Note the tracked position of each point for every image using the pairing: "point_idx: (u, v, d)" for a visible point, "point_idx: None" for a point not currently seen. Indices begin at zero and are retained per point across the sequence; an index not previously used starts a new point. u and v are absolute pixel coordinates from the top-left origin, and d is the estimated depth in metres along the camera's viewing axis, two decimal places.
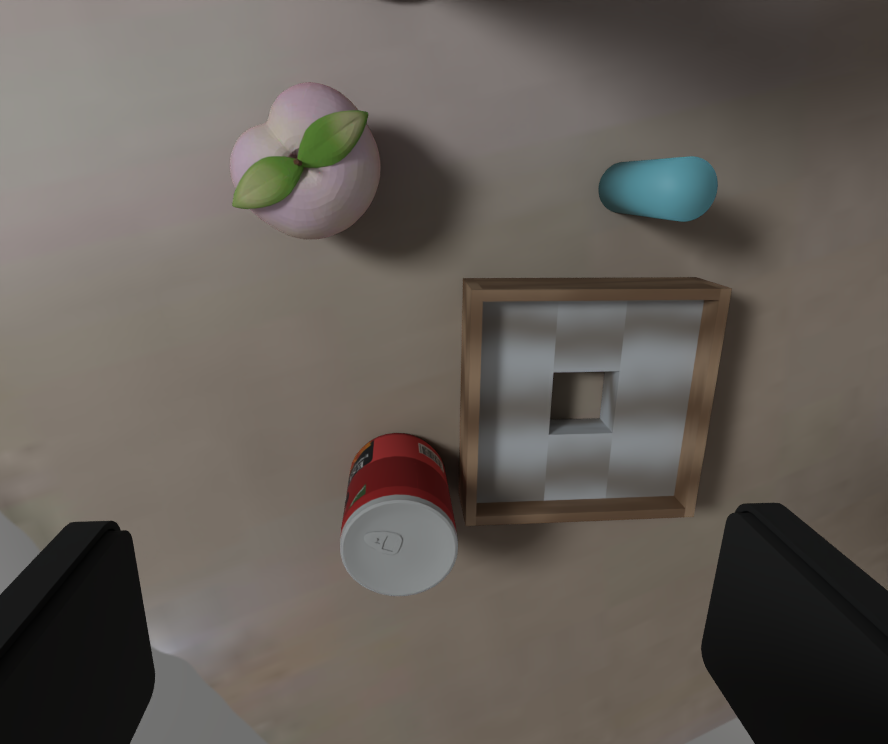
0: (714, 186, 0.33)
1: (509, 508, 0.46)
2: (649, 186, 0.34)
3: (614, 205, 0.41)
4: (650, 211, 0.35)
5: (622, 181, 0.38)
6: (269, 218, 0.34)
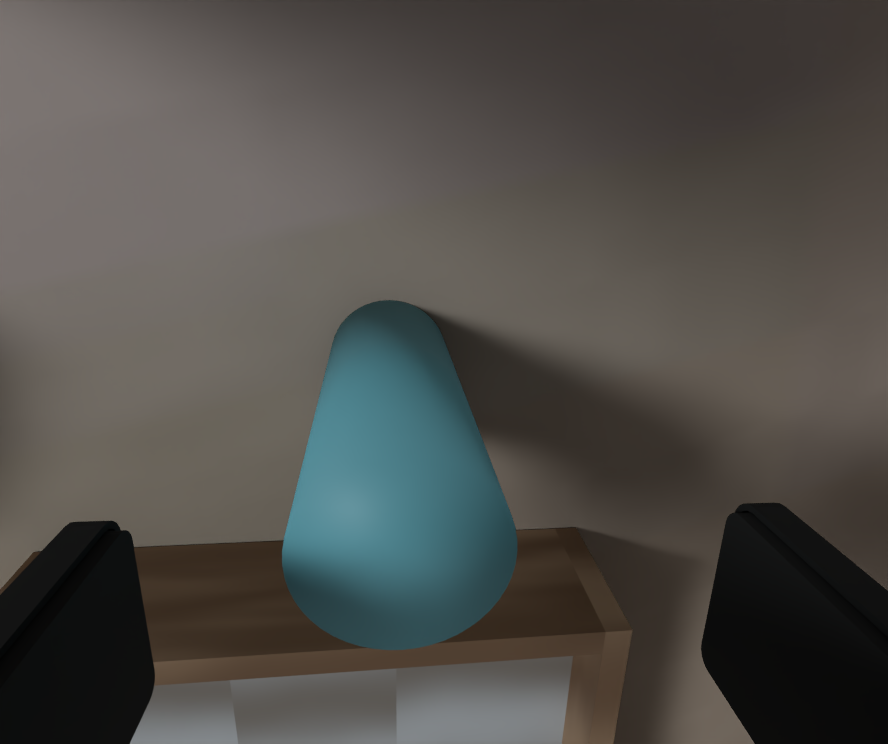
0: (507, 541, 0.09)
1: None
2: None
3: None
4: None
5: (319, 397, 0.14)
6: None
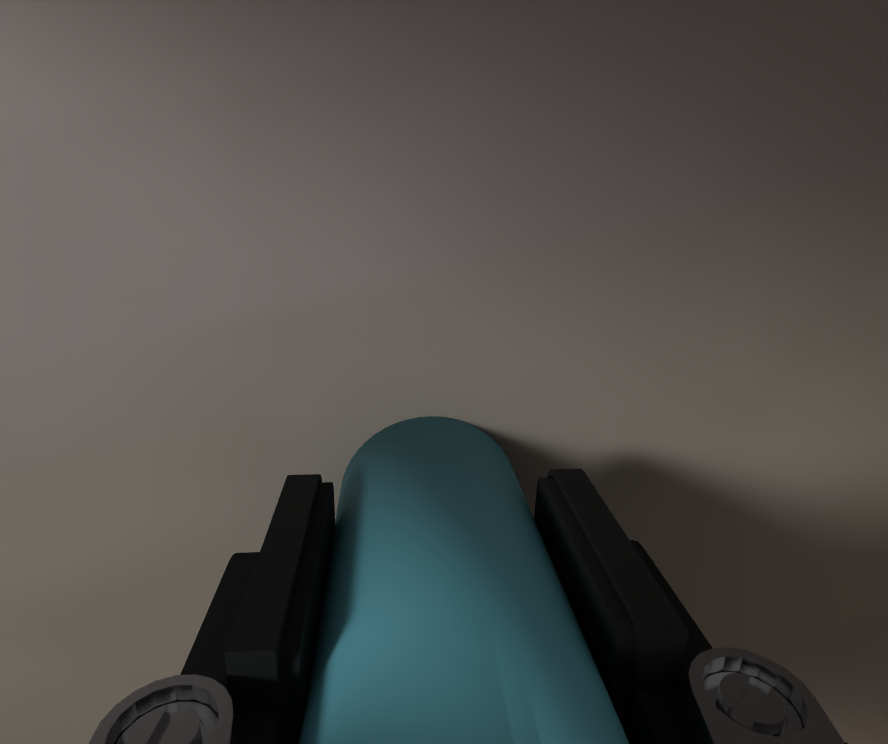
0: None
1: None
2: None
3: None
4: None
5: (314, 652, 0.07)
6: None
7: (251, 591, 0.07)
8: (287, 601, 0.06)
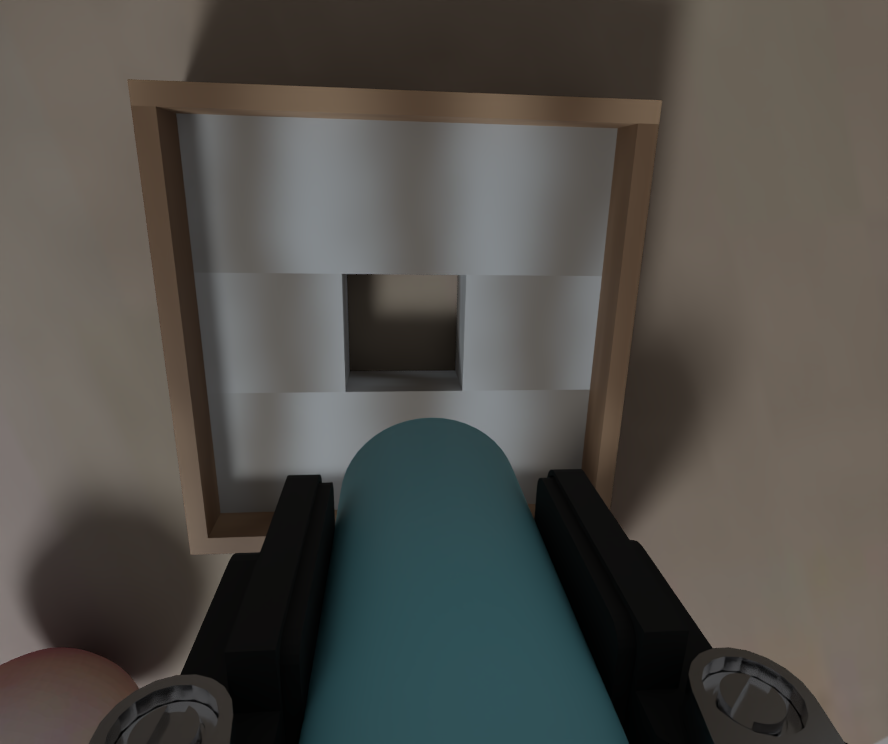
0: None
1: (590, 459, 0.26)
2: None
3: None
4: None
5: None
6: None
7: (251, 591, 0.07)
8: (287, 601, 0.06)
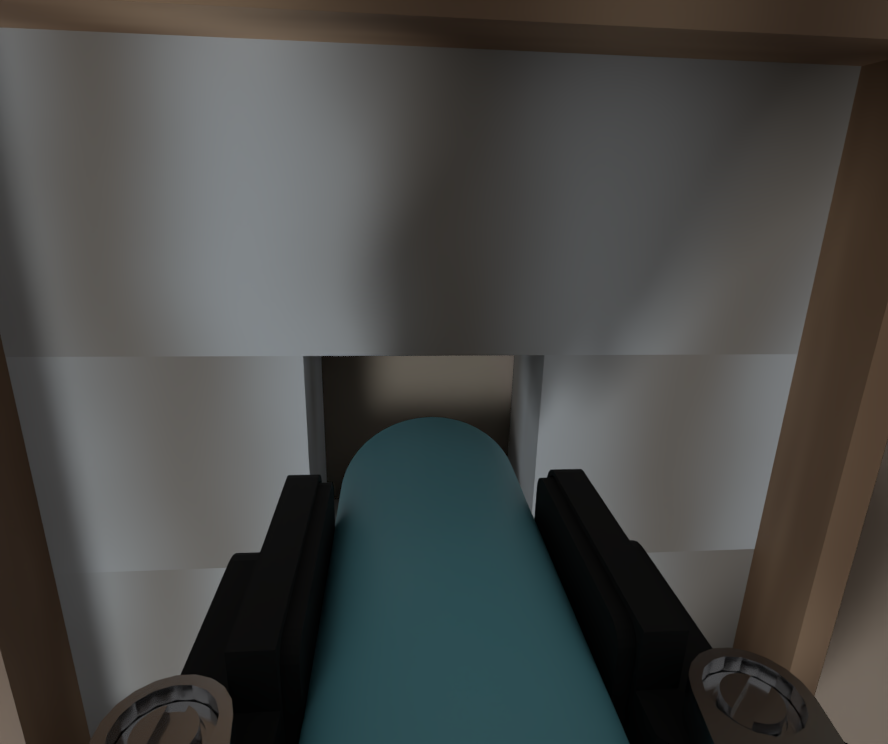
0: None
1: None
2: None
3: None
4: None
5: None
6: None
7: (251, 591, 0.07)
8: (287, 601, 0.06)
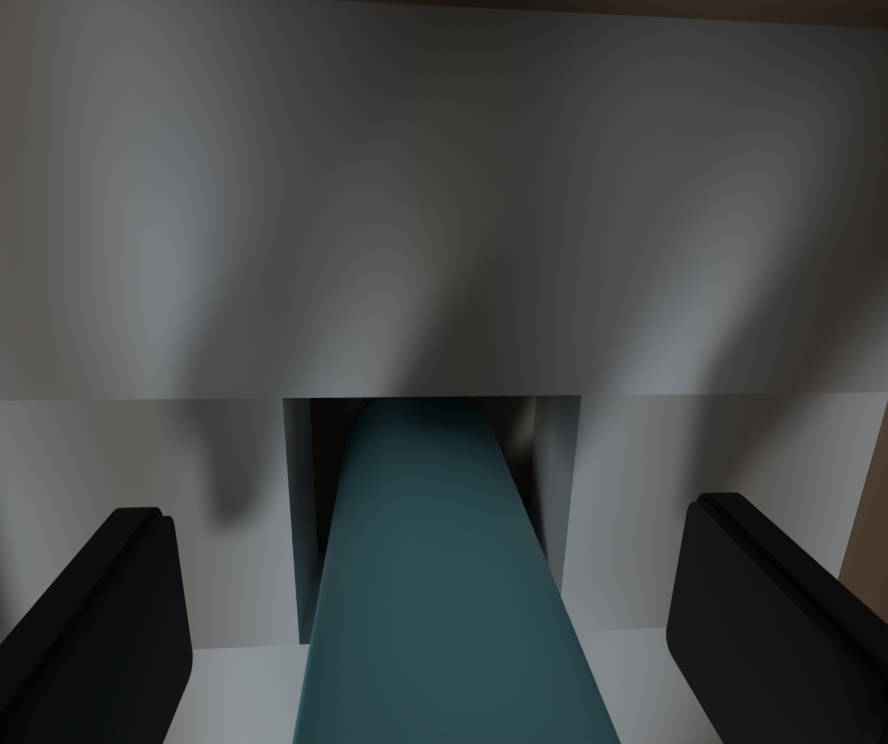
0: None
1: None
2: None
3: None
4: None
5: (325, 557, 0.09)
6: None
7: None
8: (28, 675, 0.05)
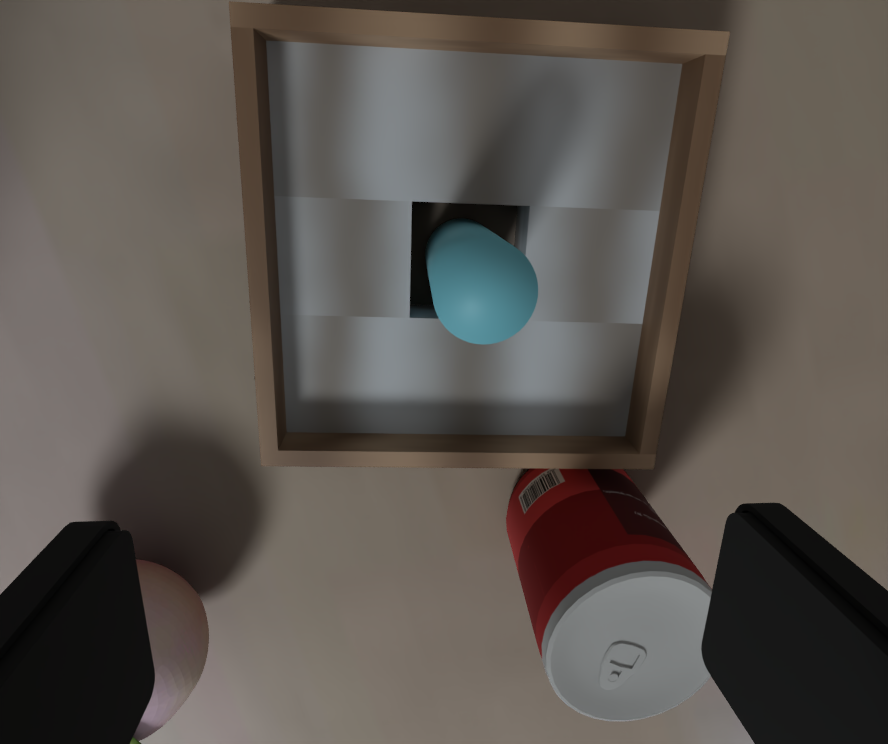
0: (533, 288, 0.19)
1: (640, 391, 0.27)
2: (431, 281, 0.20)
3: None
4: None
5: (429, 256, 0.24)
6: (164, 719, 0.28)
7: None
8: None
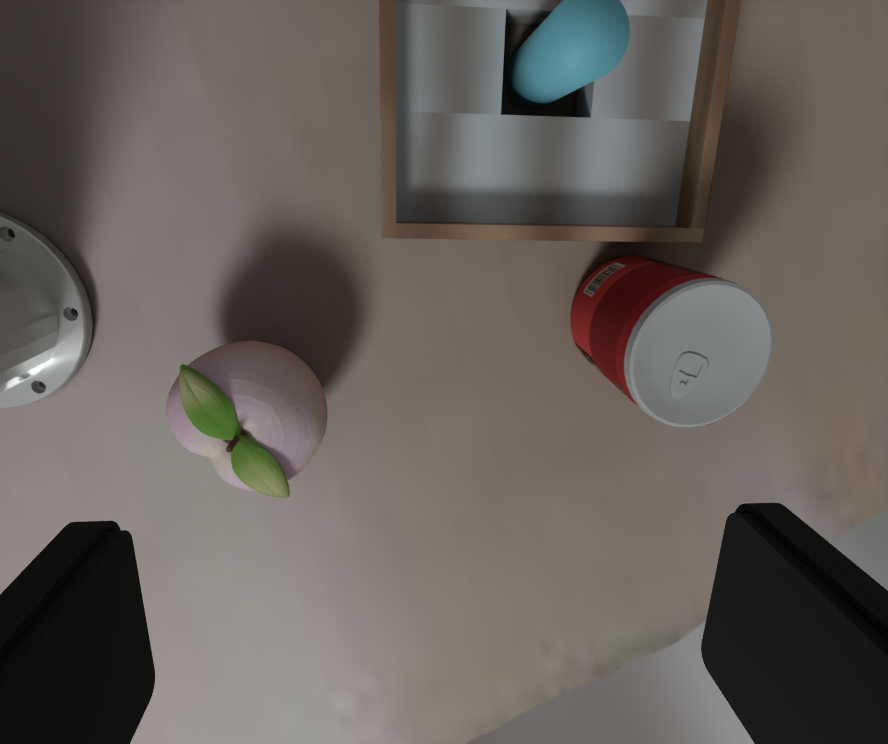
0: (626, 30, 0.25)
1: (690, 176, 0.33)
2: (543, 35, 0.26)
3: (520, 90, 0.33)
4: (548, 74, 0.27)
5: (523, 49, 0.30)
6: (299, 463, 0.33)
7: None
8: None
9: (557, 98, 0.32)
